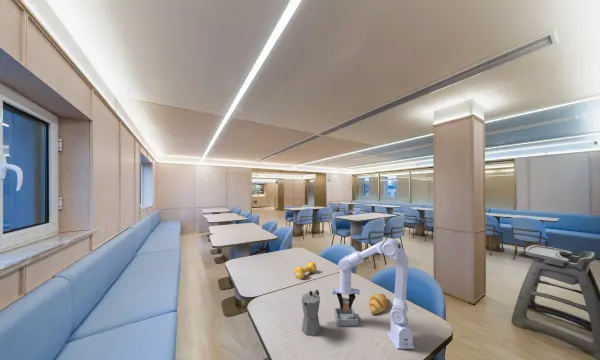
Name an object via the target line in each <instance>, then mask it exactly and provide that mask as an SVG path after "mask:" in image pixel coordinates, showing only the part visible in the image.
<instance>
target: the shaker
mask: <svg viewBox="0 0 600 360" xmlns="http://www.w3.org/2000/svg"><path fill="white" fill-rule="evenodd" d="M349 302H350V300H349V297H348V298H347V297H342V313H344V314H349Z"/></svg>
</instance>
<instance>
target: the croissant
mask: <svg viewBox="0 0 600 360" xmlns="http://www.w3.org/2000/svg"><path fill="white" fill-rule="evenodd" d="M368 302H369V303H368V305H369V311H370V313H371V314H372V315H376V314H377V315H378V314H380V313H383V312H386V311H387V307H388V299H387V297H386V294H384V293H374V294H372V295H371V294H370V296H369V297H368Z"/></svg>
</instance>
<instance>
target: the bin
mask: <svg viewBox="0 0 600 360" xmlns="http://www.w3.org/2000/svg"><path fill="white" fill-rule="evenodd" d="M333 311H334V312H333V314H334V317H335V322H336V323H337V326H338V327H359V319H358V317H357V314H356V312H355V309H354V308H353V307H351V309H350V308H349V314H344V313H342V309H341V308H340V307H334V308H333Z"/></svg>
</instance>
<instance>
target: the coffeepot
mask: <svg viewBox="0 0 600 360" xmlns="http://www.w3.org/2000/svg"><path fill="white" fill-rule="evenodd" d="M320 303H321V295H320V292H319V290H318V289H316V290H315V291H313V290H310V291H308V292H306V293H304V294H302V295H301V304H302V310H303V311H302V312H303V319H302V326H301V331H303V332H304V333H305V336H308V337H309V336H310V337H314V336H317V335H319V333H320V332H321V331H320V330H321V328H320V327H321V325H320V320H319V310H320ZM303 332H302V333H303ZM304 333H303V334H304Z"/></svg>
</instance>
